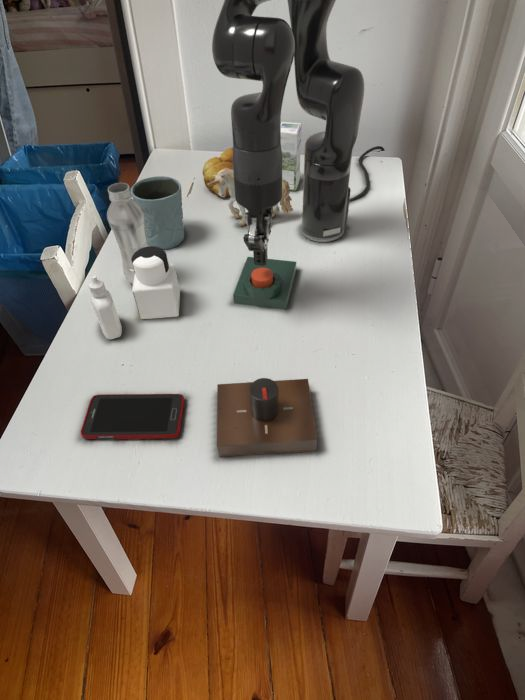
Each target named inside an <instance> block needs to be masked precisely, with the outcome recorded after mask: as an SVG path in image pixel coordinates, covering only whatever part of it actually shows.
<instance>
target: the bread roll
mask: <svg viewBox="0 0 525 700" xmlns="http://www.w3.org/2000/svg"><path fill="white" fill-rule="evenodd" d="M232 156H233V147H229V148H227V149H225V150H224V151H223V152H222V153H220V155H219V157H218V156H214V157H212V158H209V159H208V160H206V161H205V162H204V165H203V167H202V176H203V182H204V186H205V187H206V188H207V189H208V190H210V191H211V192H214V193H215V194H216V195H217V196H219V188H218V186H217V185H216V184H213V185H208V183H211V182H213V181H215V179H216V178H215V177H213V176H212V175H217V174H218V172H219V171H221V170H223V169H225V168H228V169H230V170H233V158H232ZM225 192H226V195H225V197H228V196H229V197H230V194H229V188H228V186H227V187H226V190H225Z"/></svg>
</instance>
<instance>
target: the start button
mask: <svg viewBox="0 0 525 700" xmlns="http://www.w3.org/2000/svg"><path fill="white" fill-rule="evenodd" d="M251 278H252V284H253V286H255V287H257V288H266V287H270V286H271V285H272V284H273V272H272V271H271V270H270V269H268V268H257V269H255V270H254V271H253V272H252V274H251Z"/></svg>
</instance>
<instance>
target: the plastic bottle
mask: <svg viewBox="0 0 525 700" xmlns="http://www.w3.org/2000/svg"><path fill="white" fill-rule="evenodd" d="M107 193H108V199H109V201H110V204H109V206H108V208H107V211H106V220H107V222H108V225H109V227H110V229H111V231H112V233H113V235H114V237H115V240H116V242H117V244H118V248H119V251H120V256H121V260H122V272H123V275H124V277H125V279H126V281H127V282H128V283H130V284H131V285H133V282H134V276H135V272H134V268H133V265H132V261H131V258H132V256H133V254H134V253H135V252H136V251H137V250H139V249H141V248H144V247H149V245H148V240H147V235H146V228H145V217H144V212H143V210H142V208H141V207H140V205H139V204H138V203H137V202H135V201H134V200H133V198H132V193H131V187H130V185H129V184H128V183H126V182H115V183H113V184H111V185H109V186H108V187H107Z"/></svg>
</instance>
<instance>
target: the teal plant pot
mask: <svg viewBox="0 0 525 700" xmlns="http://www.w3.org/2000/svg"><path fill="white" fill-rule="evenodd" d="M130 191H131V193H132V198H131V199H133V200H134V201H135V202H137V203H138V204H139V205H140V207H141V208H142V210H143V212H144V217H145V228H146V235H147V240H148V245H149V246H155V247H159V248H161V249H163V250H168V249H172V248H175V247H177V246H179V245H180V244H181V243H182V242H183V241H184V240H185V227H184V222H183V219H184V212H183V202H182V201H183V195H182V184H181V183H180V181H179V180H177V179H175V178H173V177H170V176H166V175H165V176H164V175H161V176H159V175H158V176H151V177H146V178H142V179H141V180H139V181H137V182H135V183H134V184H133V185H132V186H131V187H130Z"/></svg>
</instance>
